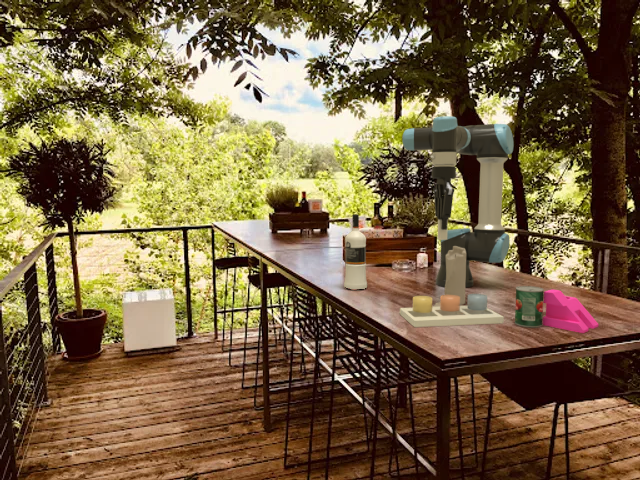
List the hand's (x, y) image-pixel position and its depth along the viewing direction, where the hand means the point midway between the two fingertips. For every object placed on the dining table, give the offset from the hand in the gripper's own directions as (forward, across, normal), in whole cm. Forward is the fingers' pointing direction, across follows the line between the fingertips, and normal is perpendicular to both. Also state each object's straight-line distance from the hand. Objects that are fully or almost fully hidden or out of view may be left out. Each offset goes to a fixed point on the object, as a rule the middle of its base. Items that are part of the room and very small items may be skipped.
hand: (442, 239), depth 177 cm
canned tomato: (+25, +17, +21) cm, 37 cm away
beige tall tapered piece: (+25, -12, +7) cm, 28 cm away
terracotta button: (+21, +7, 0) cm, 23 cm away
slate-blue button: (+21, +7, +9) cm, 24 cm away
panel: (+24, +7, 0) cm, 25 cm away
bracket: (+25, +21, +33) cm, 46 cm away
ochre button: (+21, +7, -9) cm, 24 cm away
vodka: (+24, -44, -20) cm, 54 cm away
